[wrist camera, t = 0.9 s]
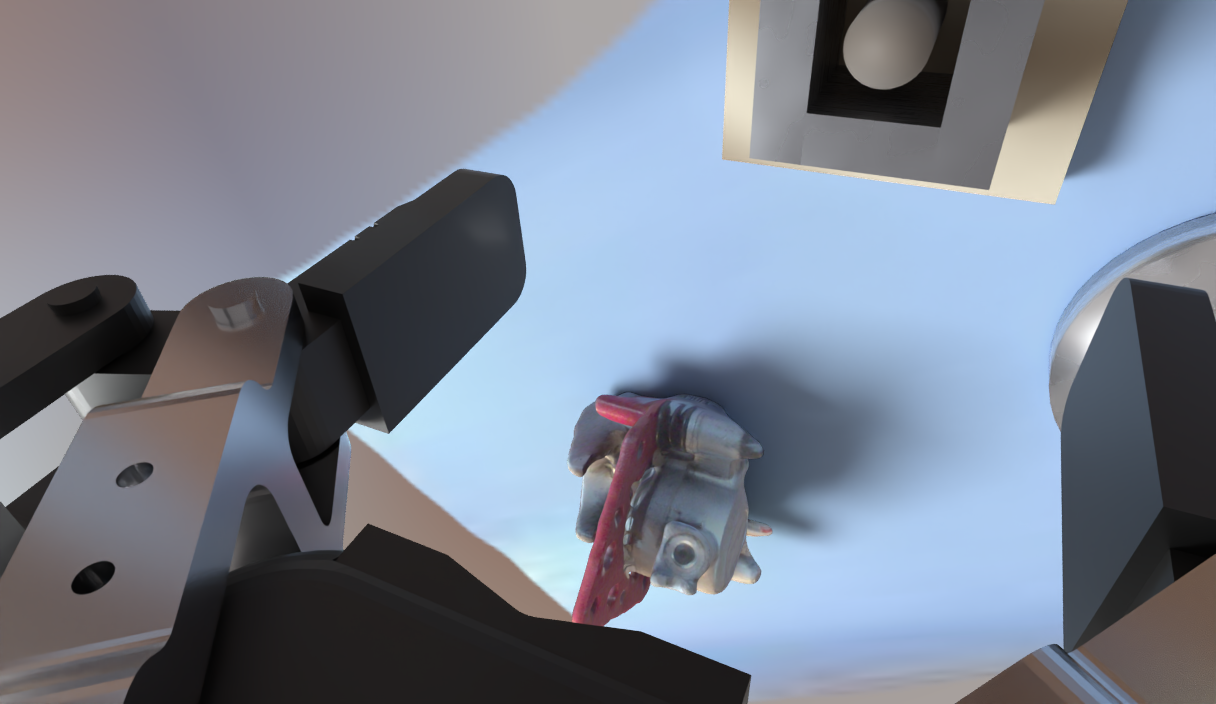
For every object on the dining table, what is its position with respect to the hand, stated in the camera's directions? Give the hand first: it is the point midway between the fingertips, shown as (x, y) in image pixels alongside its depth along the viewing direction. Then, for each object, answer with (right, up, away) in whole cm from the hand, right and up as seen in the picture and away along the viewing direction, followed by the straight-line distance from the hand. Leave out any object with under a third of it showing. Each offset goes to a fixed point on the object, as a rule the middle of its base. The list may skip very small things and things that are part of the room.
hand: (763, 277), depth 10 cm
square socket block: (+6, +8, +10) cm, 14 cm away
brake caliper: (+2, -6, +27) cm, 27 cm away
